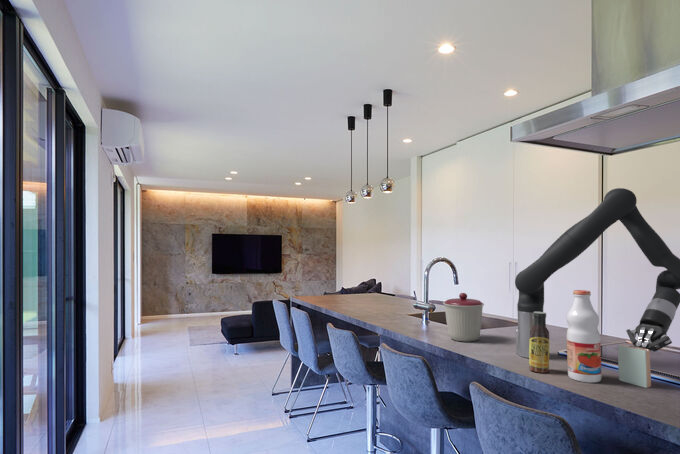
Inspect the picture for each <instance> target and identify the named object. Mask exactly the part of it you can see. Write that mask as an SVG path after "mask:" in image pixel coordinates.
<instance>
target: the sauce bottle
mask: <svg viewBox="0 0 680 454" xmlns="http://www.w3.org/2000/svg"><path fill="white" fill-rule="evenodd" d="M533 316H534V323H533V324H534V325H533V326H532V328H531V330H530V339H529V358H528V359H529V360H528V365H529V370H530V371H532V372H535V373H538V374H539V373H543V374H546V373H548V372H550V371H549V369H550V331H549V329H548V328H547V324H546V323H547V322H546V321H547V312H544V311H543V312H533Z"/></svg>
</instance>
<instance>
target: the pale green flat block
mask: <svg viewBox="0 0 680 454" xmlns="http://www.w3.org/2000/svg"><path fill="white" fill-rule="evenodd" d="M617 363H618V366H617V368H618V381H620V382H623V383H628V384H631V385H635V386H639V387H643V388H645V389H646V388H651V387H652V377H651V376H652V375H651V374H652V372H651V351H650V350H649V349H644V348H639V347H634V345H630V344H629V345H628V344H622V343H621V344H617Z"/></svg>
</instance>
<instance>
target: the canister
mask: <svg viewBox="0 0 680 454" xmlns="http://www.w3.org/2000/svg"><path fill="white" fill-rule="evenodd" d="M458 297H459V298H449V299H446V300H445V301H443V303H442V305H444V311H445V320H446V326H447V332H448V336H449V338H450V339H452V340H453V341H457V342H467V343H468V342H475V341H477V340H479V338H480V336H481V328H482V318H483V308H484V305H485V303H484V302H482V301H481V300H479V299H474V298H468V294H467V293H466V292H461V293H459V295H458Z"/></svg>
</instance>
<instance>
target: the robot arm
mask: <svg viewBox="0 0 680 454" xmlns="http://www.w3.org/2000/svg"><path fill="white" fill-rule="evenodd" d="M637 201H638V200H637V196H636V194H635V193H634V192H633V191H632V190H630V189H627V188H624V187H623V188H622V187H619V188H618V187H617V188H614V189H611V190H609V191H608V192H607V193H606V194H605V195H604V198H603V201H602V202H601V203H600V204H599V205H598V206H597V207H596V208H595V209H594V210H593V211H592V212H590V213H589V214H588V215H587V216H585V217H584V218H583V219H581V220H579V221H578V222H576V223H575V224H573V225H572V226H570V227H569V228H567V230H565V232H564V233H562V234H561V235H560V236H559V237H558V238H557V239H556V240H555V241H554V242H553V243H552V244H551V245H550V246H548V248H547V249H546V250H545V251H544V252H543V253H542V255H541V256H539V258H537V260H535V261H534V262H533V263H531V264H530V265H528V266H527V267H526V268H525V269H523V270H521V271H519V272H518V273H517V275H515V279H514V285H515V287H516V289H517V290H518V300H517V301H518V302H517V304H516V305H517V306H516V307H517V308H516V309H517V310H516V311H517V328H516V329H515V344H516V345H515V346H516V347H515V348H516V349H515V351H516V353H515V354H517V355H518V356H520V357H522V358H526V359H527V358H528V359H529V339H530V330H531V328H532V326H533V325H534V324H533V323H534V316H533V312H544V304H545V282H546V281H547V280H548V279H549V278H550V277H551V276H552V275H553V274H555V273H556V272H557V271H558V270H560V269H562V268H564V267H565V266H566V265H568V264H569V263H571V262H572V261H574V260H575V259H577V258H578V257H579V256H580V255H581V254H582V253H584V251H586V250H587V249H588V248H589V247H590V246H591V245H592V244H594V243H595V242H596V240H597V239H599V238H600V237H601V235H603V233H604V232H606V230H607V229H609V228H610V227H611V226H612V225H614V224H615V223H617V222H618V221H620V223H621V224H622V225H623V226H624V227H625V229H626V230H627V231H628V232H629V234H630V236H631V237H632V239H633V241H635V243H636V244H637V246H638V248H639V250H641V252H642V253H643V254H644V256H645V257H646V259H647V260H648V262H649V263H650V264H651V265H652V266H653V267H656V268H665V270H662V271H661V272H660V273H659V274H658V275H657V277H656V284H655V292H654V294H653V297H652V299H651V300H650V302H649V303H648V304H647V306H646V309H645V310H644V312H643V314H642V315H641V318H640V320H639V324H638V325H637V326H635V328H634V329H632V330H631V329H629V328H628V329H626V334H627V335H628V338H629V340H630V342H631V344H632V346H634V347H639V348H644V349H649V350H650V352H651V351H652V352H657V351H659V350H661V349H663V348H665V347H667V346H670V345H671V344H673V342H672V340H671V338H670V336H668V335H667V333H668V331H669V329H670V328H671V325H672V323H673V320H674V318H675V316H676V312H677V310H678V308H679V306H680V291H678V290H680V258H679V257H678V256H677V255H675V253H673V252H672V250H671V249H670V247H669V246H668V245H667V244H666V242H665V241H664V240H663V239H662V237H661V236H660V235H659V234H658V233H657V232H656V230H655V229H654V228H653V227H652V226H651V225H650V224H649V223H648V222H647V220H646V219H645V218H644V217H643V215H642V214H641V212H640V211H639V209H638V207H637ZM636 338H637V339H636Z"/></svg>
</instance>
